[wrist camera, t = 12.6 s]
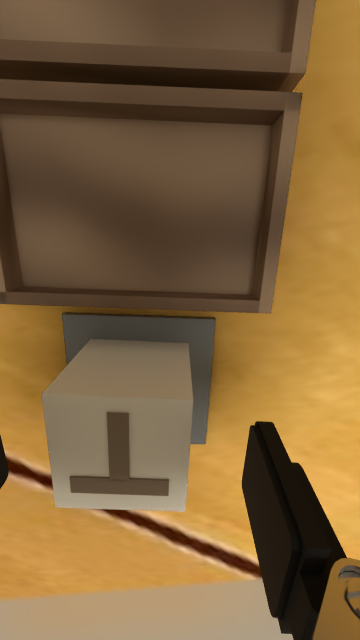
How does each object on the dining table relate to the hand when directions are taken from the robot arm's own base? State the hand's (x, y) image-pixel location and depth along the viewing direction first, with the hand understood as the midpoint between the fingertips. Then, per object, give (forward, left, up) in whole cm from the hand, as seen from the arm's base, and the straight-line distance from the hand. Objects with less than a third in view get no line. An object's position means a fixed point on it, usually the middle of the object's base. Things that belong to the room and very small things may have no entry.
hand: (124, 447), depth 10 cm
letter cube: (+1, 0, -6) cm, 6 cm away
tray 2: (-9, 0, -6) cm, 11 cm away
